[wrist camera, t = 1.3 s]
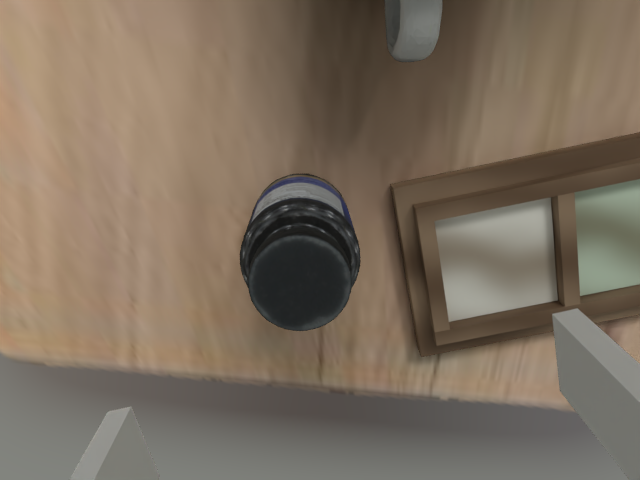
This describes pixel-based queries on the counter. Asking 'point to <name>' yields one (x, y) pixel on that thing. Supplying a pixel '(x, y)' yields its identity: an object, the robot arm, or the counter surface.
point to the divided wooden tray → (521, 244)
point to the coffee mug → (412, 28)
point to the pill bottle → (300, 253)
